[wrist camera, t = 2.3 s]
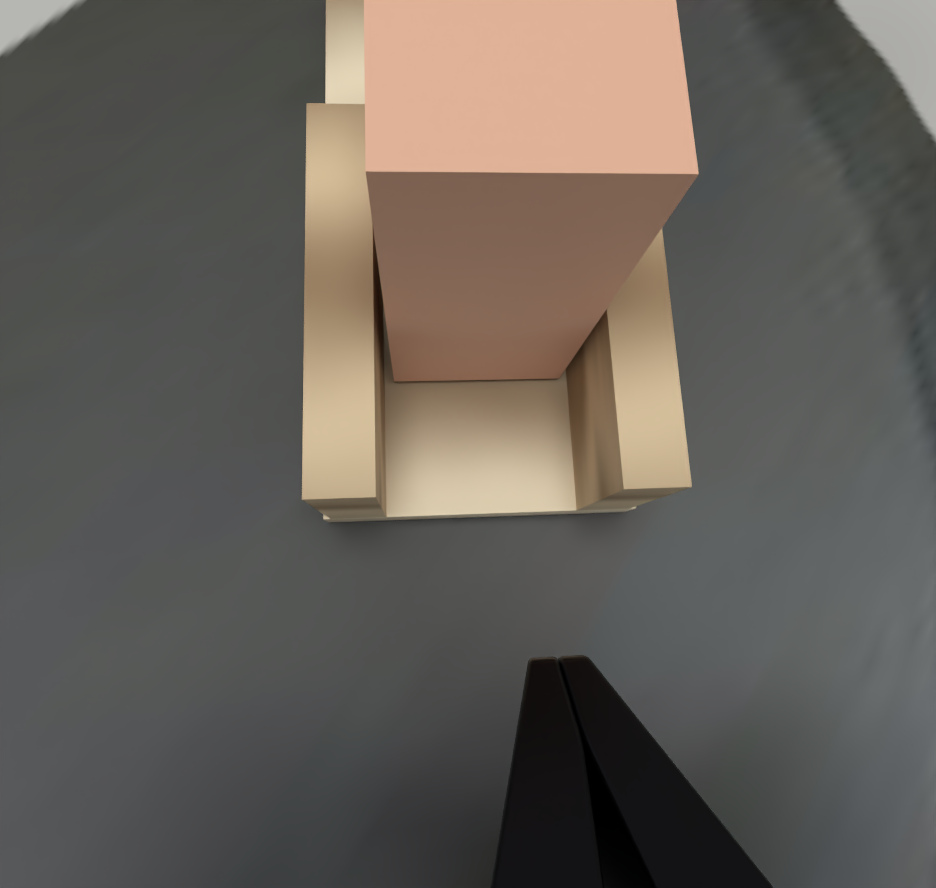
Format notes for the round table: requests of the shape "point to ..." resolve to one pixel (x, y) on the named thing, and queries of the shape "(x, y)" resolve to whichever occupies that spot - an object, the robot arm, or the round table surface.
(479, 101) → the block
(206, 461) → the round table surface
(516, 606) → the round table surface
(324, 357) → the chute
